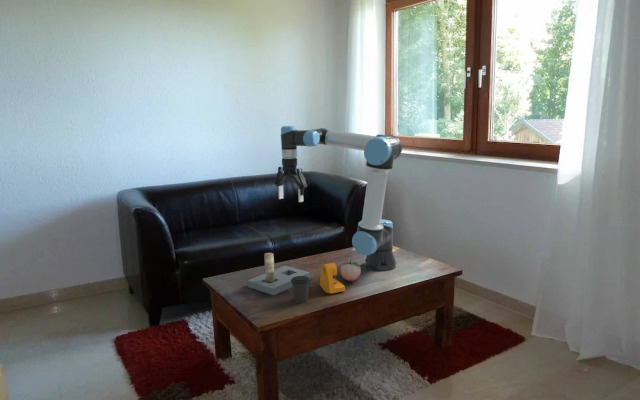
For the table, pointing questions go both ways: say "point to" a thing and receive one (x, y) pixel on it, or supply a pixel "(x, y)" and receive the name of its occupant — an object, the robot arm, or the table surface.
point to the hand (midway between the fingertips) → (290, 200)
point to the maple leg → (269, 267)
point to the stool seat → (277, 280)
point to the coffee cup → (300, 288)
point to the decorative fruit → (350, 270)
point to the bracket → (330, 279)
